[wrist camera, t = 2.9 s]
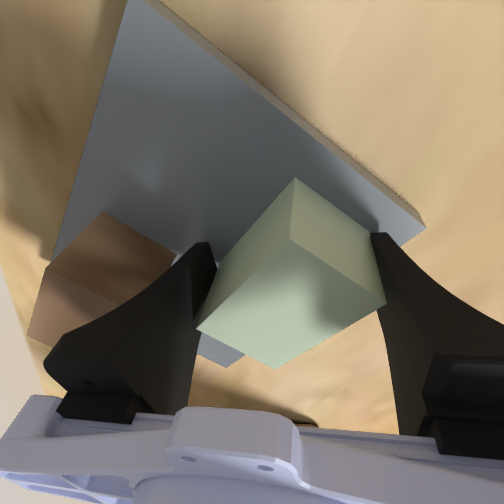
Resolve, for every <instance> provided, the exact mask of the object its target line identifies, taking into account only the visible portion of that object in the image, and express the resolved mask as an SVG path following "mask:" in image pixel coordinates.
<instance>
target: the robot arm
mask: <svg viewBox="0 0 504 504" xmlns="http://www.w3.org/2000/svg"><path fill="white" fill-rule="evenodd" d="M370 238H371V242H372V246H373V250H374V254H375V257H376V261H377V265H378V270H379V274H380V278H381V282H382V286H383V290H384V294H385V298H386V302H387V304H385V305H384V306H382V307H380V308H379V309H377V313H378V317H379V320H380V324H381V327H382V331H383V334H384V339H385V343H386V348H387V354H388V360H389V366H390V372H391V379H392V385H393V391H394V398H395V405H396V412H397V420H398V427H399V435H395V434H383V433H372V432H360V431H348V430H336V429H325V428H313V427H301V426H295V425H294V423H293V422H292V421H291V420H290V419H288V418H286V417H284V416H282V415H280V414H277V413H272V412H267V411H259V410H245V409H232V408H219V407H206V406H188V407H187V405H188V398H189V392H190V386H191V380H192V374H193V369H194V364H195V359H196V355H197V350H198V346H199V341H200V338H201V334H202V332H201V331H199V330H197V329H196V327H197V325H198V322H199V319H200V316H201V313H202V310H203V307H204V305H205V302H206V299H207V296H208V293H209V291H210V288H211V286H212V283H213V280H214V277H215V275H216V272H217V266H216V263H215V260H214V257H213V254H212V251H211V248H210V245H209V242H197V243H195V244H194V245H193V246H192V247H191V248H190V249H189V250H188V251H187V252H186V253H185V254H184V255H182V256H181V257H180V258H179V259H178V260H177V261H176V262H175V263H174V264H173V265H172V266H171V267H170V268H169V269H168V270H167V271H165V272H164V273H163V274H162V275H161V276H160V277H159V278H157V279H156V280H155V281H154V282H153V283H151V284H150V285H149V286H148V287H146V288H145V289H144V290H142V291H141V292H140V293H138V294H137V295H136V296H134V297H133V298H131V299H130V300H128V301H126V302H125V303H123V304H122V305H120V306H118V307H117V308H115V309H114V310H112V311H110V312H108V313H106V314H105V315H103V316H101V317H99V318H97V319H95V320H93V321H91V322H89V323H87V324H85V325H83V326H81V327H78V328H76V329H74V330H72V331H69V332H67V333H65V334H63V335H62V337H61V338H60V339H59V341H58V342H57V343H56V345H55V346H54V347H53V349H52V350H51V352H50V353H49V354H48V356H47V357H46V358H45V360H44V363H43V365H44V368H45V370H46V372H47V373H48V374H49V375H50V376H51V377H52V378H53V379H54V380H55V381H56V382H58V383H59V384H60V385H61V386H62V387H63V388H64V389H65V390H66V391H68V392H67V393H66V395H65V397H64V398H63V399H62V398H59V397H56V396H46V395H32V396H31V397H30V398H29V400H28V401H27V403H26V404H25V405H24V407H23V408H22V409H21V411H20V412H19V414H18V415H17V417H16V418H15V419H14V421H13V422H12V424H11V425H10V426H9V428H8V429H7V431H6V432H5V434H4V435H3V436H2V438H1V439H0V477H2V478H4V479H6V480H8V481H10V482H13V483H14V484H17V485H19V486H21V487H23V488H25V489H27V490H32V491H37V492H43V493H49V494H54V495H59V496H64V497H69V498H73V499H77V500H82V501H86V502H91V503H95V504H504V325H503V324H501V323H499V322H498V321H496V320H494V319H492V318H490V317H488V316H486V315H485V314H483V313H481V312H479V311H478V310H476V309H474V308H473V307H471V306H470V305H468V304H467V303H465V302H463V301H462V300H460V299H459V298H457V297H456V296H454V295H453V294H451V293H450V292H449V291H447V290H446V289H445V288H443V287H442V286H441V285H439V284H438V283H437V282H436V281H434V280H433V279H432V278H431V277H430V276H429V275H427V274H426V273H425V272H424V271H423V270H422V269H421V268H420V267H419V266H418V265H417V264H416V263H415V262H414V261H413V260H412V259H411V258H410V257H409V256H408V255H407V254H406V253H405V252H404V251H403V250H402V249H401V248H400V247H399V246H398V244H397V243H396V242H395V241H394V240H393V239H392V237H391V236H390V235H389V234H388V233H387V232H378V233H371V235H370Z"/></svg>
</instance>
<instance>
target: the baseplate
mask: <svg viewBox="0 0 504 504" xmlns="http://www.w3.org/2000/svg"><path fill="white" fill-rule="evenodd" d="M294 177H296V178H297V179H299V180H300V181H302V182H303V183H304V184H306V185H307V186H308V187H310V188H311V189H312V190H314V191H315V192H316V193H318V194H319V195H320V196H322V197H323V198H325V199H326V200H327V201H329V202H330V203H331V204H333V205H334V206H335V207H337V208H338V209H339V210H341V211H342V212H343V213H345V214H346V215H347V216H349V217H350V218H352V219H353V220H354V221H356V222H357V223H358V224H360V225H361V226H362V227H364V228H365V229H366V230H368V231H369V233H370V235H371V233H378V232H387V233H388V234H389V235H390V236H391V237H392V239H393V240H394V241H395V242H396V243H397V244H398V246H399V247H400V246H401V245H403V244H404V243H406V242H407V241H409V240H410V239H411V238H413V237H414V236H416V235H417V234H419V233H420V232H421V231H423V230H424V229H426V226H425V224H424V222H423V220H422V218H421V216H420V214H419V212H417V211H416V210H415V209H414V208H413V207H411V206H410V205H409V204H408V203H406V202H405V201H404V200H403V199H402V198H400V197H399V196H398V195H397V194H395V193H394V192H393V191H392V190H390V189H389V188H388V187H387V186H386V185H384V184H383V183H382V182H381V181H379V180H378V179H377V178H376V177H375V176H373V175H372V174H371V173H370V172H368V171H367V170H366V169H365V168H364V167H362V166H361V165H360V164H359V163H357V162H356V161H355V160H354V159H352V158H351V157H350V156H349V155H348V154H346V153H345V152H344V151H343V150H341V149H340V148H339V147H338V146H337V145H335V144H334V143H333V142H332V141H330V140H329V139H328V138H327V137H326V136H324V135H323V134H322V133H321V132H319V131H318V130H317V129H316V128H314V127H313V126H312V125H311V124H310V123H308V122H307V121H306V120H305V119H303V118H302V117H301V116H300V115H299V114H297V113H296V112H295V111H294V110H292V109H291V108H290V107H289V106H287V105H286V104H285V103H284V102H283V101H281V100H280V99H279V98H278V97H276V96H275V95H274V94H273V93H272V92H270V91H269V90H268V89H267V88H265V87H264V86H263V85H262V84H261V83H259V82H258V81H257V80H256V79H254V78H253V77H252V76H251V75H249V74H248V73H247V72H246V71H245V70H243V69H242V68H241V67H240V66H238V65H237V64H236V63H235V62H234V61H232V60H231V59H230V58H229V57H227V56H226V55H225V54H224V53H223V52H221V51H220V50H219V49H218V48H216V47H215V46H214V45H213V44H211V43H210V42H209V41H208V40H207V39H205V38H204V37H203V36H202V35H200V34H199V33H198V32H197V31H196V30H194V29H193V28H192V27H191V26H189V25H188V24H187V23H186V22H185V21H183V20H182V19H181V18H180V17H178V16H177V15H176V14H175V13H173V12H172V11H171V10H170V9H169V8H167V7H166V6H165V5H164V4H162V3H161V2H160V1H159V0H127V3H126V7H125V10H124V14H123V17H122V20H121V24H120V27H119V31H118V34H117V38H116V41H115V44H114V48H113V51H112V55H111V58H110V62H109V65H108V68H107V72H106V75H105V79H104V82H103V86H102V89H101V92H100V96H99V99H98V103H97V106H96V110H95V113H94V116H93V120H92V123H91V127H90V130H89V133H88V137H87V140H86V144H85V147H84V151H83V154H82V157H81V161H80V164H79V168H78V171H77V175H76V178H75V181H74V185H73V188H72V192H71V195H70V199H69V202H68V205H67V209H66V212H65V216H64V219H63V223H62V226H61V229H60V233H59V236H58V240H57V243H56V246H55V250H54V253H53V257H52V260H51V262H52V261H53V260H54V259H55V258H56V257H57V256H58V255H59V254H60V253H61V252H62V251H63V250H64V249H65V248H66V247H67V246H68V245H69V244H70V243H71V242H72V241H73V240H74V239H75V238H76V237H77V236H78V235H79V234H80V233H81V232H82V231H83V230H84V229H85V228H86V227H87V226H88V225H89V224H90V223H91V222H92V221H93V220H94V219H95V218H96V217H97V216H98V215H99V214H100V213H101V212H102V211H103V212H104V213H106V214H108V215H109V216H111V217H113V218H115V219H116V220H118V221H120V222H122V223H123V224H125V225H127V226H129V227H130V228H132V229H134V230H135V231H137V232H139V233H141V234H142V235H144V236H146V237H148V238H149V239H151V240H153V241H154V242H156V243H158V244H160V245H161V246H163V247H165V248H167V249H168V250H170V251H172V252H174V253H175V254H177V256H176V258H175V259H174V261H173V263H172V265H173V264H174V263H175V262H176V261H177V260H178V259H179V258H180V257H181V256H182V255H184V254H185V253H186V252H187V251H188V250H189V249H190V248H191V247H192V246H193V245H194V244H195V243H197V242H209V245H210V248H211V251H212V254H213V257H214V260H215V263H216V266H217V268H218V265H219V263H220V262H221V261H222V259H223V258H224V257H225V256H226V255H227V254H228V253H229V252H230V250H231V249H232V248H233V247H234V246H235V245H236V244H237V242H238V241H239V240H240V239H241V238H242V237H243V236H244V234H245V233H246V232H247V231H248V230H249V229H250V228H251V226H252V225H253V224H254V223H255V222H256V221H257V220H258V218H259V217H260V216H261V215H262V214H263V213H264V212H265V211H266V209H267V208H268V207H269V206H270V205H271V204H272V203H273V201H274V200H275V199H276V198H277V197H278V196H279V195H280V193H281V192H282V191H283V190H284V189H285V188H286V187H287V185H288V184H289V183H290V182H291V181H292V180H293V179H294ZM172 265H171V266H172ZM197 354H199V355H201V356H203V357H205V358H207V359H209V360H211V361H213V362H215V363H217V364H219V365H221V366H223V367H225V368H227V367H228V366H230V365H231V364H233V363H234V362H236V361H237V360H238V359H240V358H241V357H243V356H244V355H246V354H244V353H242V352H240V351H238V350H236V349H234V348H232V347H230V346H228V345H226V344H225V343H223V342H221V341H219V340H217V339H215V338H213V337H211V336H209V335H207V334H205V333H203V332H202V334H201V338H200V341H199V346H198V350H197Z"/></svg>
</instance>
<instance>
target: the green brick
mask: <svg viewBox="0 0 504 504" xmlns="http://www.w3.org/2000/svg"><path fill="white" fill-rule="evenodd" d="M385 304H387V302H386V298H385V294H384V290H383V286H382V282H381V278H380V274H379V270H378V265H377V261H376V257H375V254H374V250H373V246H372V242H371V238H370V233H369V231H368V230H366V229H365V228H364V227H362V226H361V225H360V224H358V223H357V222H356V221H354V220H353V219H352V218H350V217H349V216H347V215H346V214H345V213H343V212H342V211H341V210H339V209H338V208H337V207H335V206H334V205H333V204H331V203H330V202H329V201H327V200H326V199H325V198H323V197H322V196H320V195H319V194H318V193H316V192H315V191H314V190H312V189H311V188H310V187H308V186H307V185H306V184H304V183H303V182H302V181H300V180H299V179H297V178H296V177H294V179H293V180H292V181H291V182H290V183H289V184H288V185H287V187H286V188H285V189H284V190H283V191H282V192H281V193H280V195H279V196H278V197H277V198H276V199H275V200H274V201H273V203H272V204H271V205H270V206H269V207H268V208H267V209H266V211H265V212H264V213H263V214H262V215H261V216H260V217H259V218H258V220H257V221H256V222H255V223H254V224H253V225H252V226H251V228H250V229H249V230H248V231H247V232H246V233H245V234H244V236H243V237H242V238H241V239H240V240H239V241H238V242H237V244H236V245H235V246H234V247H233V248H232V249H231V250H230V252H229V253H228V254H227V255H226V256H225V257H224V258H223V259H222V261H221V262H220V263H219V265H218V268H217V272H216V275H215V277H214V280H213V283H212V286H211V288H210V291H209V293H208V296H207V299H206V302H205V305H204V307H203V310H202V313H201V316H200V319H199V322H198V325H197V327H196V329H197V330H199V331H201V332H203V333H205V334H207V335H209V336H211V337H213V338H215V339H217V340H219V341H221V342H223V343H225V344H226V345H228V346H230V347H232V348H234V349H236V350H238V351H240V352H242V353H244V354H246V355H248V356H250V357H252V358H254V359H256V360H258V361H260V362H262V363H264V364H265V365H267V366H269V367H271V368H273V369H276V368H278V367H280V366H281V365H283V364H285V363H287V362H288V361H290V360H292V359H293V358H295V357H297V356H299V355H300V354H302V353H304V352H305V351H307V350H309V349H310V348H312V347H314V346H316V345H317V344H319V343H321V342H322V341H324V340H326V339H328V338H329V337H331V336H333V335H334V334H336V333H338V332H339V331H341V330H343V329H345V328H346V327H348V326H350V325H351V324H353V323H355V322H356V321H358V320H360V319H362V318H363V317H365V316H367V315H368V314H370V313H372V312H374V311H375V310H377V309H379V308H380V307H382V306H384V305H385Z"/></svg>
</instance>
